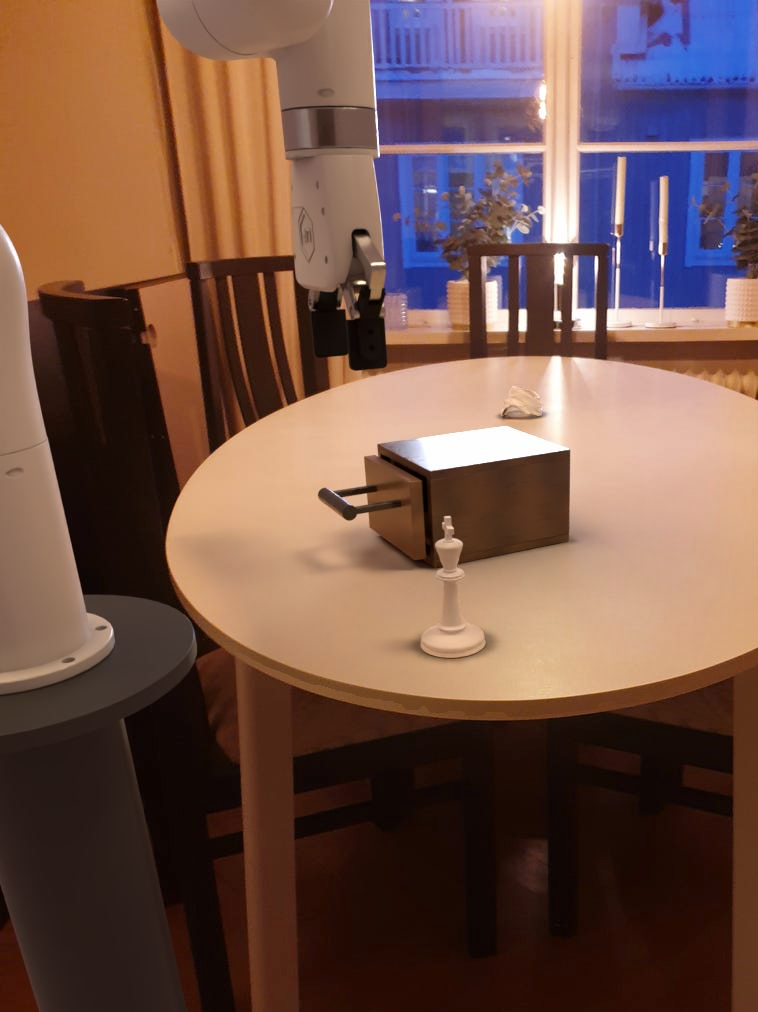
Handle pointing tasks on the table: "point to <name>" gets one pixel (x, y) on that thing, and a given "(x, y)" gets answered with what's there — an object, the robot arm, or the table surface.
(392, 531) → the drawer
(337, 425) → the table surface
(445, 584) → the chess piece
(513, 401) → the beige lumpy piece
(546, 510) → the cabinet
